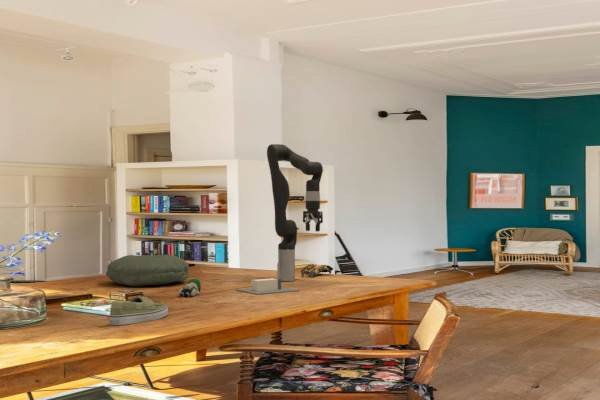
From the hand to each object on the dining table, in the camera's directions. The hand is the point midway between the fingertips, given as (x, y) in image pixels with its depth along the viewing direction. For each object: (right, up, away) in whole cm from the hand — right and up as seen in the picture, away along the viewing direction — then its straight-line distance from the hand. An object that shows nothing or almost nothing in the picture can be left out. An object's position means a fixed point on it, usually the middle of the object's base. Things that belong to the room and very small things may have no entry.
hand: (312, 231), depth 383 cm
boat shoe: (-66, -29, -109) cm, 130 cm away
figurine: (+3, -28, +47) cm, 55 cm away
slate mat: (-23, -28, -23) cm, 43 cm away
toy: (-57, -29, -41) cm, 76 cm away
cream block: (-29, -25, -28) cm, 47 cm away
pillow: (-86, -28, +5) cm, 91 cm away
